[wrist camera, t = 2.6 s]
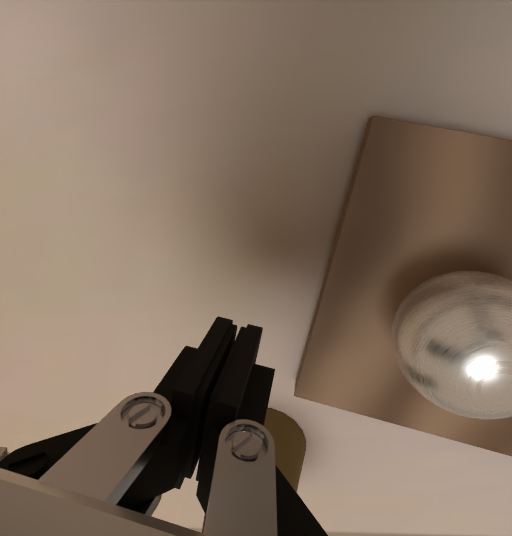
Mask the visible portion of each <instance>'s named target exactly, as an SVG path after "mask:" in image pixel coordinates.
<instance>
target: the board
mask: <svg viewBox="0 0 512 536" xmlns="http://www.w3.org/2000/svg"><path fill="white" fill-rule="evenodd" d="M455 271H480V272H486V273H491V274H495V275H498V276H501V277H504V278H507V279H509V280H511V281H512V141H511V140H506V139H500V138H495V137H489V136H483V135H478V134H472V133H466V132H461V131H455V130H450V129H444V128H438V127H433V126H427V125H421V124H416V123H410V122H405V121H399V120H393V119H388V118H382V117H376V116H373V117H371V118H369V121H368V125H367V128H366V132H365V135H364V139H363V143H362V146H361V150H360V153H359V157H358V160H357V164H356V167H355V171H354V175H353V178H352V182H351V185H350V189H349V192H348V196H347V200H346V203H345V207H344V210H343V214H342V217H341V221H340V224H339V228H338V232H337V235H336V239H335V242H334V246H333V249H332V253H331V257H330V260H329V264H328V267H327V271H326V274H325V278H324V282H323V285H322V289H321V292H320V296H319V299H318V303H317V306H316V310H315V314H314V317H313V321H312V324H311V328H310V331H309V335H308V339H307V342H306V346H305V349H304V353H303V356H302V360H301V363H300V367H299V371H298V374H297V378H296V383H295V392H294V396H296V397H300V398H303V399H307V400H310V401H314V402H318V403H321V404H325V405H329V406H332V407H336V408H339V409H343V410H347V411H350V412H354V413H357V414H361V415H365V416H368V417H372V418H375V419H379V420H383V421H386V422H390V423H394V424H397V425H401V426H404V427H408V428H412V429H415V430H419V431H422V432H426V433H430V434H433V435H437V436H440V437H444V438H448V439H451V440H455V441H458V442H462V443H466V444H469V445H473V446H477V447H480V448H484V449H487V450H491V451H495V452H498V453H502V454H505V455H509V456H512V417H508V418H502V419H476V418H469V417H465V416H460V415H457V414H454V413H452V412H449V411H447V410H445V409H442V408H440V407H438V406H437V405H435V404H433V403H432V402H430V401H429V400H427V399H426V398H425V397H423V396H422V395H421V394H420V393H419V392H418V391H417V390H416V389H415V388H414V387H413V386H412V385H411V384H410V383H409V382H408V380H407V379H406V378H405V376H404V375H403V373H402V372H401V370H400V368H399V366H398V364H397V361H396V359H395V356H394V352H393V347H392V336H391V334H392V324H393V320H394V317H395V314H396V312H397V310H398V308H399V306H400V304H401V303H402V301H403V300H404V298H405V297H406V296H407V295H408V294H409V293H410V292H411V291H412V290H413V289H414V288H415V287H417V286H418V285H420V284H421V283H423V282H425V281H426V280H428V279H430V278H433V277H435V276H438V275H442V274H445V273H449V272H455Z"/></svg>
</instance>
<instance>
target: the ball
mask: <svg viewBox="0 0 512 536" xmlns="http://www.w3.org/2000/svg"><path fill="white" fill-rule="evenodd" d="M391 336H392V347H393V352H394V356H395V359H396V361H397V364H398V366H399V368H400V370H401V372H402V373H403V375H404V376H405V378H406V379H407V380H408V382H409V383H410V384H411V385H412V386H413V387H414V388H415V389H416V390H417V391H418V392H419V393H420V394H421V395H422V396H423V397H425V398H426V399H427V400H429V401H430V402H432V403H433V404H435V405H437V406H438V407H440V408H442V409H445V410H447V411H449V412H452V413H454V414H457V415H460V416H465V417H469V418H476V419H502V418H508V417H512V281H511V280H509V279H507V278H504V277H501V276H498V275H495V274H491V273H486V272H480V271H455V272H449V273H445V274H442V275H438V276H435V277H433V278H430V279H428V280H426V281H425V282H423V283H421V284H420V285H418V286H417V287H415V288H414V289H413V290H412V291H411V292H410V293H409V294H408V295H407V296H406V297H405V298H404V300H403V301H402V303H401V304H400V306H399V308H398V310H397V312H396V314H395V317H394V320H393V324H392V334H391Z"/></svg>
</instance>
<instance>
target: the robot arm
mask: <svg viewBox="0 0 512 536" xmlns="http://www.w3.org/2000/svg"><path fill="white" fill-rule="evenodd" d="M232 323H233V320H230V319H226V318H222V317H217V318H216V320H215V321H214V323H213V325H212V326H211V328H210V330H209V331H208V333H207V334H206V336H205V338H204V339H203V341H202V343H201V344H200V346H199V347H198V349H197V348H193V347H189V346H185V347H184V349H183V350H182V351H181V353H180V354H179V356H178V357H177V359H176V360H175V362H174V363H173V364H172V366H171V367H170V369H169V370H168V372H167V373H166V375H165V376H164V378H163V379H162V380H161V382H160V383H159V385H158V386H157V388H156V389H155V391H154V392H141V393H135V394H133V395H130V396H128V397H126V398H125V399H124V400H122V401H121V402H120V403H119V404H118V405H117V406H115V407H114V408H113V409H112V410H111V411H110V412H109V413H108V414H107V415H106V416H105V417H104V418H103V419H102V420H101V421H100V422H99V423H96V424H93V425H90V426H86V427H83V428H80V429H77V430H74V431H71V432H67V433H64V434H61V435H58V436H55V437H51V438H48V439H45V440H42V441H39V442H36V443H32V444H29V445H26V446H24V447H21V448H19V449H17V450H15V451H13V452H12V453H8V452H7V447H0V536H328V535H327V534H326V532H325V531H324V530H323V528H322V527H321V525H320V524H319V523H318V521H317V520H316V519H315V517H314V516H313V515H312V513H311V512H310V510H309V509H308V508H307V506H306V505H305V504H304V502H303V501H302V500H301V498H300V497H299V496H298V494H297V493H296V491H295V490H294V489H293V487H292V486H291V485H290V483H289V482H288V481H287V479H286V478H285V476H284V475H283V474H282V472H281V471H280V470H279V468H278V467H277V466H276V464H275V445H274V440H273V437H272V436H271V434H270V432H269V431H268V430H267V429H266V428H265V427H264V422H265V417H266V412H267V407H268V402H269V397H270V392H271V387H272V382H273V377H274V372H275V369H272V368H268V367H265V366H261V365H257V364H255V362H256V358H257V353H258V348H259V344H260V339H261V335H262V330H263V328H262V327H258V326H254V325H250V324H248V325H247V328H245V327H241V328H240V331H239V333H238V335H237V338H236V340H235V336H236V331H237V325H233V324H232ZM199 457H200V458H199ZM198 460H199V464H198V470H197V476H196V481H199V482H198V488H197V494H196V496H197V498H198V500H199V502H200V504H201V506H202V508H203V510H204V512H205V516H204V522H203V528H202V533H200V532H197V531H194V530H191V529H188V528H185V527H182V526H179V525H176V524H173V523H169V522H166V521H163V520H160V519H157V518H154V517H151V516H152V514H153V512H154V511H155V509H156V508H157V506H158V504H159V502H160V500H161V496H162V494H163V493H165V492H167V491H169V490H171V489H173V488H177V489H180V488H181V485H182V483H183V480H184V478H185V477H186V478H190V479H191V477H192V475H193V473H194V470H195V467H196V465H197V462H198Z"/></svg>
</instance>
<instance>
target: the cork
mask: <svg viewBox="0 0 512 536" xmlns="http://www.w3.org/2000/svg"><path fill="white" fill-rule="evenodd" d="M264 427H265V428H266V429H267V430H268V431H269V432H270V434H271V436H272V437H273V440H274V445H275V464H276V466H277V467H278V468H279V470H280V471H281V472H282V474H283V475H284V476H285V478H286V479H287V481H288V482H289V483H290V485H291V486H292V487H293V489H294V490H295V491H296V492H297V488H298V483H299V478H300V474H301V469H302V464H303V460H304V455H305V451H306V439H305V436H304V434H303V431H302V429H301V428H300V427H299V426H298V424H297V423H296V422H295V421H294V420H293V419H291V418H290V417H288V416H287V415H285V414H284V413H282V412H279V411H276V410H274V409H271V408H267V412H266V417H265V422H264Z"/></svg>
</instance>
